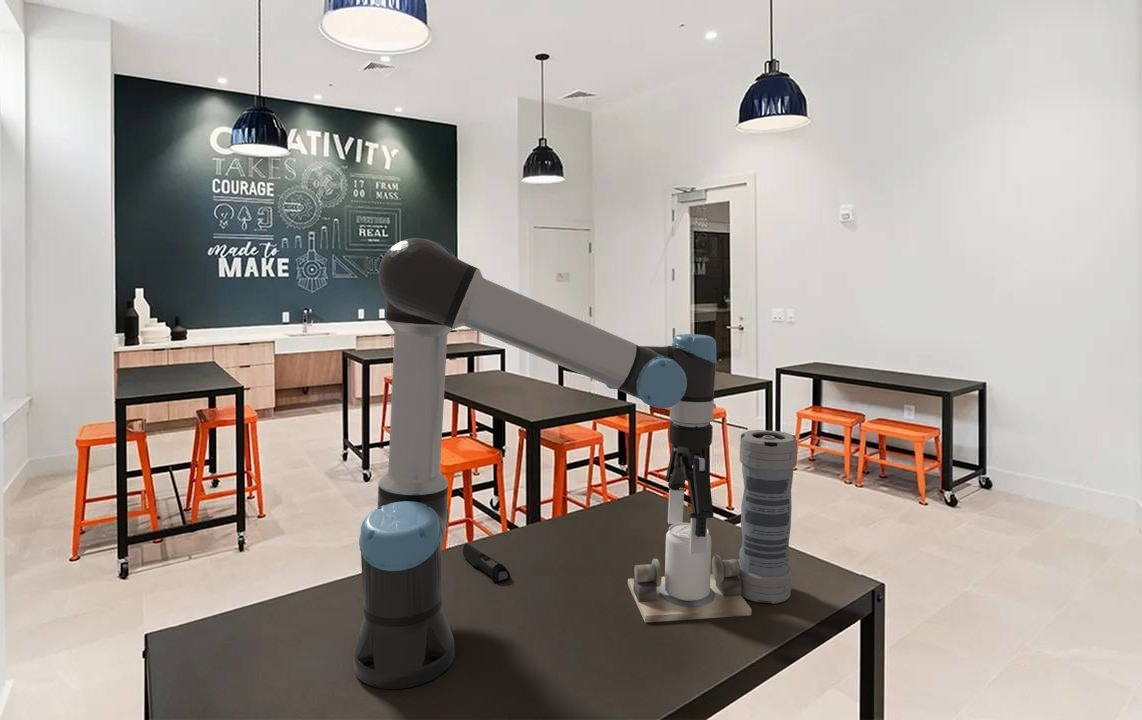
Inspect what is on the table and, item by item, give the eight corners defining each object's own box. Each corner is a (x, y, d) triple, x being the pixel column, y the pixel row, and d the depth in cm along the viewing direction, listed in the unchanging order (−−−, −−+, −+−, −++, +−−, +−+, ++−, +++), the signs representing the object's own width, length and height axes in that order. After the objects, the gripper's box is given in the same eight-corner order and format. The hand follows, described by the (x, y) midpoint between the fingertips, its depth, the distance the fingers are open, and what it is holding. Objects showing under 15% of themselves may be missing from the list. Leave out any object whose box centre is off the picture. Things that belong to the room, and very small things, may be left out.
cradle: (645, 622, 114) (645, 578, 113) (627, 584, 128) (628, 545, 127) (751, 615, 117) (752, 572, 116) (723, 578, 130) (724, 540, 129)
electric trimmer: (474, 555, 143) (474, 540, 142) (512, 580, 130) (512, 565, 130) (458, 559, 140) (458, 545, 140) (495, 586, 128) (495, 570, 128)
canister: (793, 607, 119) (801, 444, 115) (736, 602, 121) (741, 441, 117) (787, 582, 129) (794, 430, 125) (733, 577, 131) (739, 428, 127)
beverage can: (718, 592, 122) (720, 529, 120) (693, 608, 116) (695, 542, 115) (681, 578, 128) (682, 518, 126) (655, 593, 122) (657, 530, 120)
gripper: (737, 439, 106) (730, 566, 109) (690, 407, 131) (685, 511, 133) (692, 440, 105) (686, 567, 108) (652, 407, 130) (648, 512, 132)
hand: (685, 537), depth 121 cm, fingers open, 13 cm apart
